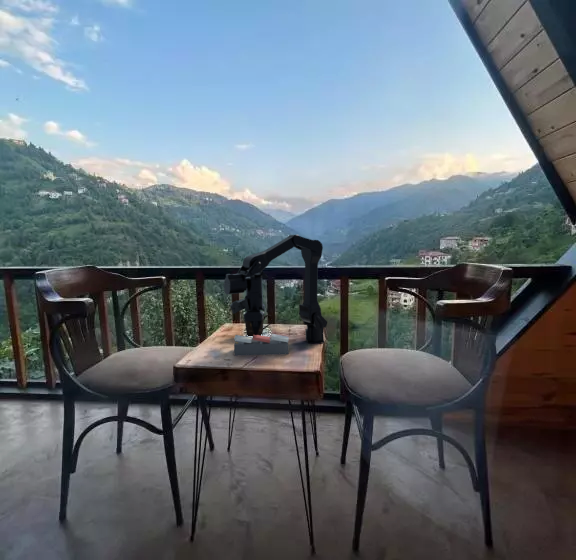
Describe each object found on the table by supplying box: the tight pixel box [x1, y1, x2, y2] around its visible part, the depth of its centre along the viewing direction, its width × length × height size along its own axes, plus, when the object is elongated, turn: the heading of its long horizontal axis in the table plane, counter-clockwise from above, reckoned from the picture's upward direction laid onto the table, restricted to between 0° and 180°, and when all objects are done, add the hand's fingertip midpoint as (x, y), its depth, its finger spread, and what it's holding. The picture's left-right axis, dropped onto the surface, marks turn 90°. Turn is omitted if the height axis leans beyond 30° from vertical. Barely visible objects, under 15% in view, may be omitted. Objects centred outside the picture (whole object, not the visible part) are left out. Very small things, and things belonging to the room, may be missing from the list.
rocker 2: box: [270, 333, 289, 343], centre depth 128 cm, size 6×4×1 cm, turn 91°
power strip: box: [233, 336, 289, 357], centre depth 130 cm, size 19×8×5 cm, turn 92°
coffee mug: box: [243, 310, 274, 336], centre depth 150 cm, size 12×9×10 cm
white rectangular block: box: [233, 334, 252, 343], centre depth 128 cm, size 6×4×1 cm, turn 91°
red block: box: [253, 335, 271, 343], centre depth 128 cm, size 6×4×1 cm, turn 91°
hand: (255, 335), depth 128 cm, fingers closed
